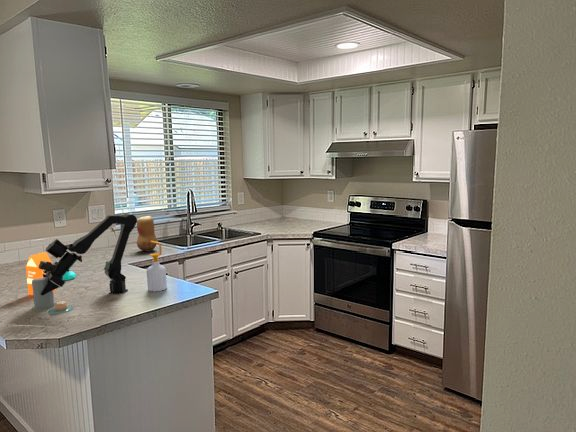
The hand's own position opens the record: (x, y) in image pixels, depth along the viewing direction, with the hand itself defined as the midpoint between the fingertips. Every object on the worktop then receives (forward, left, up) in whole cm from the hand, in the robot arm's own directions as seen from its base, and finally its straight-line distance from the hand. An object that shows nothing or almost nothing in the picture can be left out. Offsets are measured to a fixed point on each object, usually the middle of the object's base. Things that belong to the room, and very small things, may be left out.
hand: (39, 292), depth 191 cm
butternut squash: (+10, -115, -7) cm, 115 cm away
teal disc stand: (-11, +2, -7) cm, 14 cm away
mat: (-1, -1, -7) cm, 7 cm away
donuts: (+22, -45, -7) cm, 50 cm away
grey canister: (-1, -1, -7) cm, 7 cm away
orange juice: (+16, -20, -7) cm, 26 cm away
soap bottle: (-39, -32, -7) cm, 51 cm away
